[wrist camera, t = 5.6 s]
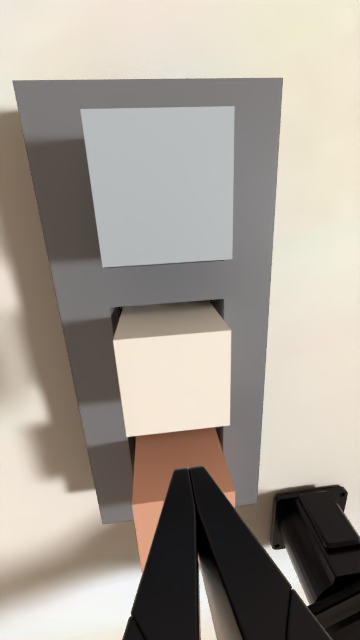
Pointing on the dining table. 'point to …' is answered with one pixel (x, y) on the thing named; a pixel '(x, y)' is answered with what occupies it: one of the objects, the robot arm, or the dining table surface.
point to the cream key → (173, 367)
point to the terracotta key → (157, 468)
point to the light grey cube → (161, 183)
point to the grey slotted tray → (155, 279)
